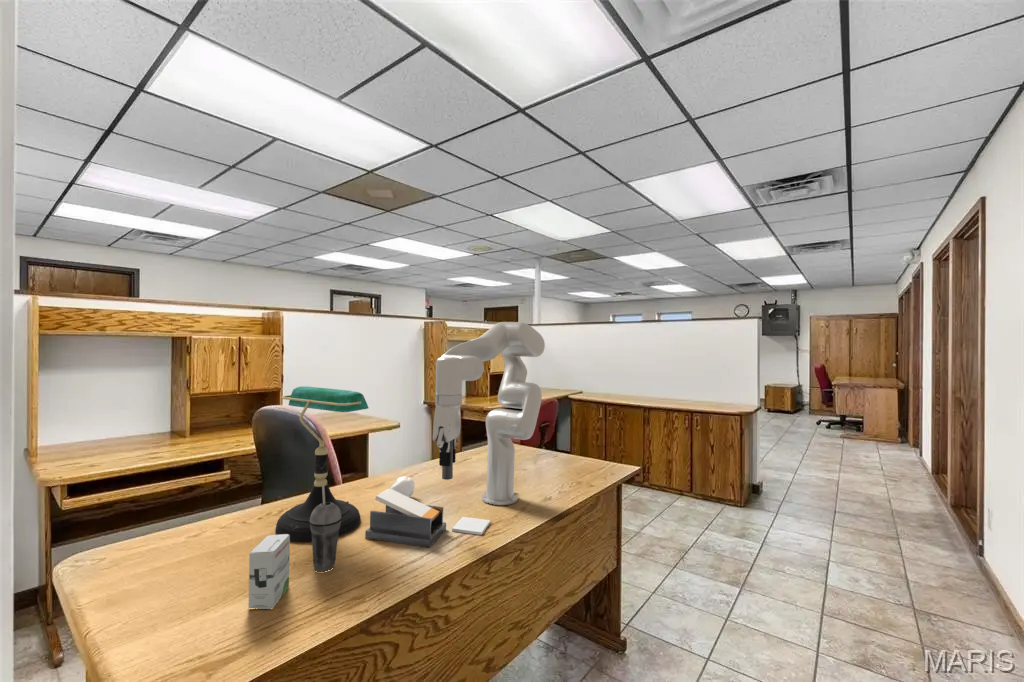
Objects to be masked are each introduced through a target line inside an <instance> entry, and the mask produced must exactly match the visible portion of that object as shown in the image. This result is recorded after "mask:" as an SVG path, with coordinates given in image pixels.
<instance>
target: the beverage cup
mask: <svg viewBox="0 0 1024 682" xmlns="http://www.w3.org/2000/svg"><path fill="white" fill-rule="evenodd" d="M322 495H323V503H321V504H319V505H318V506H317V507H316V508H315V509H314V510H313V512H312V514H311V517H310V521H309V524H310V529H311V532H312V542H311V545H312V546H311V548H312V549H311V550H312V561H313V571H314V570H315V571H317V572H325V571H328V570H331V569H332V568H335V563H336V558H337V551H338V544H339V543H338V541H339V536H338V534H339V528H340V524H341V520H342V517H341V512H340V509H339V507H338V506H337V505H335V504H334V503H331V502H325V489H324V486H322ZM332 570H333V569H332ZM332 570H331V571H332ZM315 571H314V572H315ZM317 572H316V573H317ZM325 573H326V572H325Z"/></svg>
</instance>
